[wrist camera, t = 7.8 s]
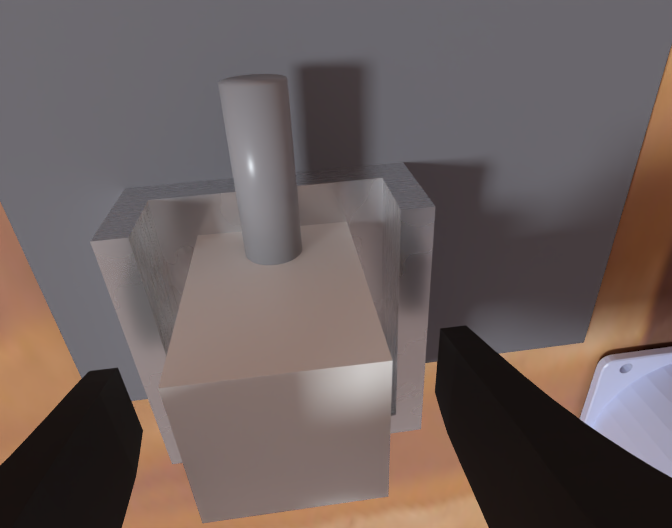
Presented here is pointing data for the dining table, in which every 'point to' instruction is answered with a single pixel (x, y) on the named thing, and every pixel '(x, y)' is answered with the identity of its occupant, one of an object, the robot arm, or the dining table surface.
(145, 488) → the dining table surface
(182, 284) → the end holder
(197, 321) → the cable plug
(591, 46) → the mat
